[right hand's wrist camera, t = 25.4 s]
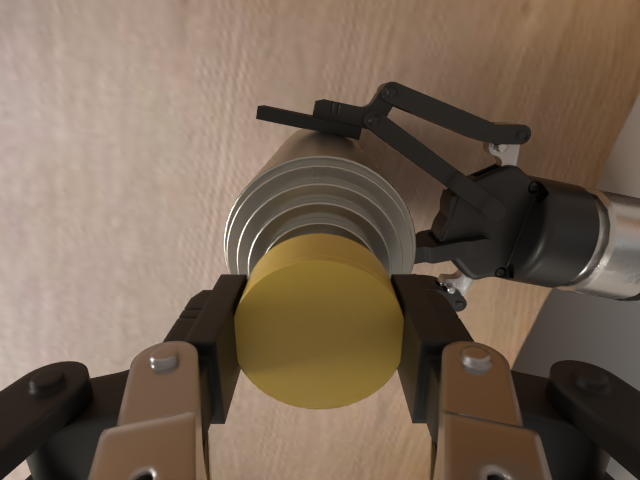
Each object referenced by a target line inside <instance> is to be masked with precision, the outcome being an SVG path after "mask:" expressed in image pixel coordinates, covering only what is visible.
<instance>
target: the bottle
mask: <svg viewBox="0 0 640 480" xmlns="http://www.w3.org/2000/svg"><path fill="white" fill-rule="evenodd" d="M320 233H321V234H332V235H337V236H342V237H344V238H347V239H350V240H352V241H354V242H356V243H358V244H360V245H362V246H363V247H365V248H366V249H368V250H369V251H370V252H371V253H372V254H374V255H375V256H376V257H377V259H378V260H379V261H380V262H381V263H382V265H383V266H384V268H385V270H386V271H387V273H388V276H389V278H390V279H391V275H392V274H411V272H412V269H413V265H414V261H415V254H416V234H415V229H414V224H413V221H412V218H411V215H410V212H409V210H408V208H407V206H406V204H405V202H404V200H403V199H402V197H401V196H400V195H399V193H398V192H397V190H396V189H395V188H394V187H393V186H392V184H391V183H390V182H389V181H388V180H387V178H386V177H385V176H384V175H383V173H382V172H381V171H380V170H379V169H378V167H377V166H376V165H375V164H374V163H373V161H372V160H371V159H370V158H369V157H368V155H367V154H366V153H365V152H364V151H363V149H362V148H361V147H360V146H359V145H358V143H357V142H356V141H355V140H354V139H352V138H347V137H343V136H338V135H334V134H328V133H323V132H318V131H313V130H308V129H302V130H300V131H298V132H296V133H295V134H293V135H292V136H291V137H290V138H289V139H288V140H287V141H286V142H285V143H284V144H283V145H282V146H281V147H280V149H279V150H278V151H277V152H276V153H275V154H274V155H273V157H272V158H271V159H270V160H269V161H268V162H267V163H266V165H265V166H264V167H263V168H262V169H261V170H260V172H259V173H258V174H257V175H256V176H255V177H254V178H253V180H252V181H251V182H250V183H249V184H248V185H247V186H246V188H245V189H244V190H243V191H242V193H241V194H240V196H239V197H238V198H237V200H236V202H235V203H234V205H233V207H232V209H231V211H230V214H229V217H228V220H227V223H226V228H225V233H224V256H225V261H226V266H227V270H228V272H229V274H246V275H247V279H249V277H250V275H251V273H252V271H253V269H254V267H255V266H256V264H257V263H258V261H259V260H260V259H261V258H262V257H263V256H264V255H265V254H266V253H267V252H268V251H269V250H271V249H272V248H273V247H275V246H277V245H278V244H280V243H282V242H284V241H286V240H288V239H291V238H294V237H297V236H301V235H307V234H320Z"/></svg>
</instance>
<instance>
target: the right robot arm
mask: <svg viewBox="0 0 640 480" xmlns="http://www.w3.org/2000/svg"><path fill="white" fill-rule="evenodd" d="M390 280H391V283H392V286H393V288H394V291H395V294H396V296H397V299H398V302H399V304H400V307H401V309H402V312H403V316H404V325H403V336H402V348H401V359H400V364H399V366H398V368H397V370H398V373H399V377H400V380H401V384H402V388H403V391H404V395H405V398H406V402H407V405H408V409H409V412H410V416H411V419H412V423H427V426H428V429H429V432H430V435H431V443H430V459H429V480H615V479H613V478H612V477H611V476H610V475H609V474H608V473H607V472H606V468H607V465H608V463H609V460H610V457H612V458H614V459H615V460H616V461H617V462H618V463H619V464H621V465H622V466H623V467H624V468H625V469H626V470H627V471H629V472H630V473H631V474H632V475H633V476H634V477H636V478H637V479H638V480H640V391H638V390H636V389H635V388H633V387H632V386H630V385H629V384H627V383H626V382H624V381H623V380H621V379H620V378H618V377H617V376H615V375H614V374H612V373H610V372H609V371H607V370H605V369H603V368H600V367H598V366H595V365H592V364H589V363H585V362H580V361H574V360H564V361H559V362H556V363H555V364H553V365H552V367H551V369H550V373H549V377H548V378H544V377H539V376H534V375H530V374H525V373H520V372H516V371H512V370H510V366H509V363H508V361H507V360H506V358H505V357H504V356H503V355H502V354H500V353H499V352H498V351H496V350H495V349H493V348H491V347H489V346H486V345H484V344H480V343H477V342H474V340H473V339H472V337H471V336H470V334H469V332H468V331H467V329H466V328H465V326H464V325H463V323H462V321H461V320H460V318H458V315H457V314H456V312H455V310H453V307H452V306H451V304H450V302H449V301H448V299H447V298H446V297H444V296H443V295H441V294H440V293H438V292H437V291H436V290H425V288H424V286H423V285H422V283H421V281H420V279H419V277H418V276H417V274H392V275H391V279H390ZM247 282H248V279H247V275H246V274H222V275H221V276H220V277H219V279H218V281H217V283H216V285H215V286H214V288H213V290H203V291H201V292H200V293H198V294H197V295H195V296H194V297H192V298H191V299H190V301H189V302H188V304H187V305H186V307H185V310H183V312H182V313H181V315H180V316H179V319H177V321H176V322H175V324H174V326H173V327H172V329H171V330H170V332H169V333H168V335H167V336H166V338H165V340H164V341H163V343H160V344H156V345H154V346H151V347H149V348H147V349H145V350H144V351H142V352H141V353H140V354H138V355H137V356H136V357H135V358H134V360H133V361H132V363H131V366H130V369H129V370H126V371H123V372H119V373H115V374H110V375H105V376H100V377H95V378H91V379H90V376H89V372H88V369H87V367H86V366H85V365H84V364H82V363H79V362H74V361H66V362H58V363H53V364H50V365H46V366H43V367H41V368H38V369H36V370H34V371H32V372H30V373H28V374H26V375H25V376H23V377H22V378H20V379H19V380H17V381H16V382H14V383H13V384H11V385H10V386H8V387H7V388H5V389H4V390H2V391H0V480H2V479H3V478H4V477H6V476H7V475H8V474H9V473H10V472H11V471H13V470H14V469H15V468H16V467H17V466H18V465H19V464H21V463H22V462H23V461H24V460H25V459H26V460H27V463H28V466H29V469H30V472H31V475H30V476H29V477H28V478H27V479H25V480H211V459H210V443H209V436H208V430H209V427H210V424H225V421H226V418H227V414H228V411H229V407H230V404H231V400H232V397H233V394H234V390H235V387H236V383H237V380H238V377H239V373H240V370H241V367H240V366H239V364H238V359H237V347H236V336H235V325H234V314H235V311H236V308H237V306H238V304H239V301H240V299H241V296H242V294H243V291H244V289H245V286H246V284H247Z"/></svg>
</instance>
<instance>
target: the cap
mask: <svg viewBox="0 0 640 480" xmlns="http://www.w3.org/2000/svg"><path fill="white" fill-rule="evenodd" d="M234 325H235V336H236V347H237V359H238V364H239V366H240V367H241V369H242V370H243V372H244V374H245V375H246V376H247V377H248V379H249V380H250V381H251V382H252V383H253V384H254V385H255V386H256V387H258V388H259V389H260V390H261V391H263V392H264V393H266V394H267V395H269V396H270V397H272V398H274V399H276V400H278V401H281V402H283V403H286V404H289V405H292V406H296V407H301V408H307V409H331V408H338V407H342V406H347V405H350V404H353V403H355V402H358V401H360V400H362V399H364V398H366V397H368V396H370V395H371V394H373V393H374V392H376V391H377V390H378V389H380V388H381V387H382V386H383V385H384V384H385V383H386V382H387V381H388V380H389V379H390V378H391V376H392V375H393V374H394V372H395V371H396V369H397V368H398V366H399V364H400V359H401V348H402V336H403V325H404V316H403V312H402V309H401V307H400V304H399V302H398V299H397V296H396V294H395V291H394V288H393V286H392V283H391V280H390V278H389V276H388V273H387V271H386V270H385V268H384V266H383V265H382V263H381V262H380V261H379V260H378V259H377V257H376V256H375V255H374V254H372V253H371V252H370V251H369V250H368V249H366V248H365V247H363V246H362V245H360V244H358V243H356V242H354V241H352V240H350V239H347V238H344V237H342V236H337V235H332V234H321V233H320V234H307V235H301V236H297V237H294V238H291V239H288V240H286V241H284V242H282V243H280V244H278V245H277V246H275V247H273V248H272V249H271V250H269V251H268V252H267V253H266V254H265V255H264V256H263V257H262V258H261V259H260V260H259V261H258V263H257V264H256V266H255V267H254V269H253V271H252V273H251V275H250V277H249V279H248V282H247V284H246V286H245V289H244V291H243V294H242V296H241V299H240V301H239V304H238V306H237V308H236V311H235V314H234Z"/></svg>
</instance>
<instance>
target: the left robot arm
mask: <svg viewBox="0 0 640 480" xmlns="http://www.w3.org/2000/svg"><path fill="white" fill-rule="evenodd" d="M392 107H395V108H398V109H400V110H403V111H405V112H408V113H410V114H412V115H415V116H417V117H420V118H422V119H425V120H427V121H430V122H432V123H434V124H437V125H439V126H442V127H444V128H447V129H449V130H451V131H454V132H456V133H459V134H461V135H464V136H466V137H469V138H472V139H475V140H479V141H483V142H484V143H483V148H484V150H485V152H487V153H489V154H492V155H493V156H494V157H495V158H496V164H493V165H491V166H489V167H487V168H484V169H482V170H480V171H477V172H475V173H473V174H470V175H468V176H465V175H464V174H462V173H461V172H459V171H458V170H456V169H455V168H454V167H452V166H451V165H450V164H448V163H447V162H446V161H444V160H443V159H442V158H440V157H439V156H438V155H436V154H435V153H434V152H432V151H431V150H430V149H428V148H427V147H426V146H424V145H423V144H422V143H420V142H419V141H418V140H416V139H415V138H414V137H412V136H411V135H410V134H408V133H407V132H406V131H404V130H403V129H402V128H400V127H399V126H398V125H396V124H395V123H394V122H392V121H391V120H390V119H388V118H387V115H388V113H389V112H390V110H391V109H392ZM256 119H260V120H265V121H269V122H274V123H279V124H284V125H289V126H294V127H299V128H304V129H308V130H313V131H318V132H323V133H328V134H334V135H338V136H343V137H347V138H352V139H357V140H359V137H360V133H361V129H362V128H365V129H369V130H370V131H371V132H373V133H374V134H375V135H377V136H378V137H379V138H381V139H382V140H384V141H385V142H386V143H388V144H389V145H390V146H392V147H393V148H394V149H396V150H397V151H399V152H400V153H401V154H403V155H404V156H405V157H407V158H408V159H409V160H411V161H412V162H414V163H415V164H416V165H418V166H419V167H420V168H422V169H423V170H424V171H426V172H427V173H429V174H430V175H431V176H433V177H434V178H435V179H437V180H438V181H439V182H441V183H442V184H443V185H445V186H446V187H447V189H446V190H444V189H443V192H442V195H441V198H440V210H439V212H438V214H437V215H436V217H435V219H434V221H433V224H432V227H431V229H430V230H425V231H421V232H418V233H417V234H416V254H415V261H414V264H417V263H422V262H428V263H439V262H444V261H450V260H451V261H452V262H453V264H454V265H455V266H456V267H457V268H458V270H457V272H455V273H453V274H440V275H439V277H438V278H437V277H434V276H429V275H417V276H418V277H419V279H420V281H421V283H422V285H423V286H424V288H425V290H436V291H437V292H438V293H440V294H441V295H443V296H444V297H446V298H447V299H448V301H449V302H450V304H451V306H452V307H453V310H455V311H457V312H459V311H462V310H464V309H465V307H466V305H467V302H466V300H465V299H464V295H465V293H466V291H467V290H468V288H469V286H470V285H471V283H472V281H473V280H474V279H481V278H485V277H498V278H502V279H506V280H511V281H517V282H522V283H527V284H533V285H538V286H544V287H551V288H553V287H555V288H558V289H560V290H564V291H570V292H575V293H582V294H587V295H593V296H599V297H605V298H611V299H614V300H619V301H627V302H632V303H637V304H640V199H639V198H635V197H630V196H625V195H620V194H616V193H611V192H606V191H601V190H597V189H591V188H582V187H580V186H577V185H573V184H568V183H563V182H558V181H553V180H548V179H544V178H539V177H534V176H529V175H526V174H525V173H524V172H523V171H522V170H521V169H520V168H518V167H517V166H516V165H517V160H518V155H519V150H520V144H524V143H526V142H527V141H528V140H529V138H530V136H531V131H530V128H529V127H528V126H526V125H520V124H512V123H498V122H489V121H487V120H484V119H482V118H480V117H477V116H475V115H472V114H470V113H468V112H465V111H463V110H460V109H458V108H456V107H453V106H451V105H449V104H446V103H444V102H441V101H439V100H437V99H434V98H432V97H429V96H427V95H425V94H422V93H420V92H418V91H415V90H413V89H410V88H408V87H406V86H403V85H401V84H399V83H396V82H388V83H384V84H382V85H380V86H379V87H378V89H377V92H376V94H375V95H374V97H373V98H372V100H371V101H370V103H369V104H367V105H366V106H363V107H358V106H353V105H348V104H343V103H339V102H334V101H329V100H324V99H323V100H318V101H315V106H314V111H313V115H308V114H303V113H298V112H294V111H289V110H284V109H279V108H274V107H270V106H265V105H263V106H258V109H257V116H256Z"/></svg>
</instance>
